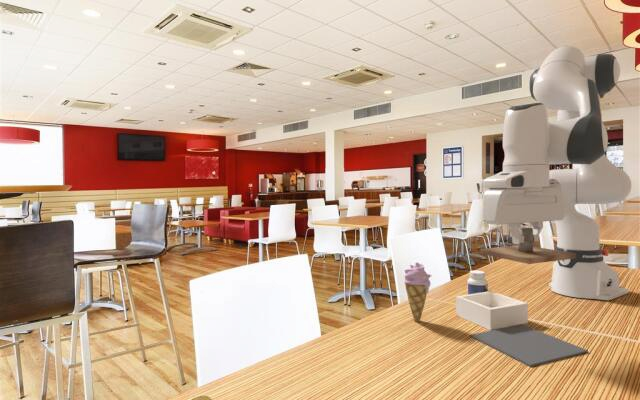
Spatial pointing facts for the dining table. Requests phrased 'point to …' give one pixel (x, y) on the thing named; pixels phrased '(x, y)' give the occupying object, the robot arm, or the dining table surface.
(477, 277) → the pill bottle
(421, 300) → the ice cream cone
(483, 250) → the lid
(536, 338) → the mat
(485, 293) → the dish
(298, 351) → the dining table surface
